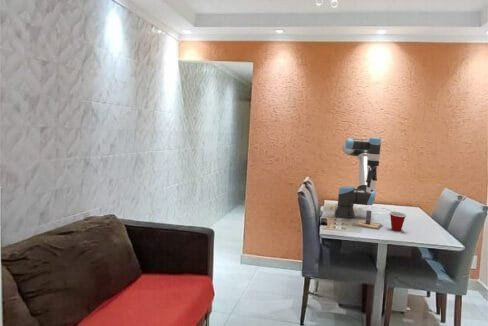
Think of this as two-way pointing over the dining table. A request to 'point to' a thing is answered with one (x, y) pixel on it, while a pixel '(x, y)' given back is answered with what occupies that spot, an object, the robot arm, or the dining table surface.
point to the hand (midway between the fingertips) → (370, 191)
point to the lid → (368, 222)
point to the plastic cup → (397, 220)
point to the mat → (369, 228)
